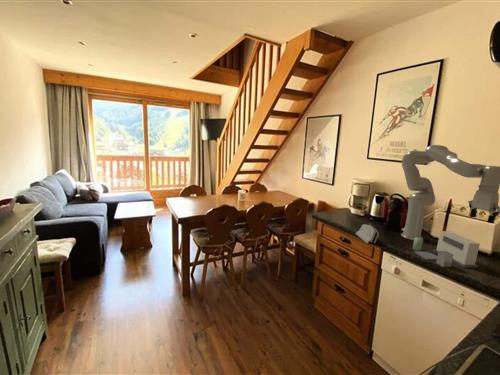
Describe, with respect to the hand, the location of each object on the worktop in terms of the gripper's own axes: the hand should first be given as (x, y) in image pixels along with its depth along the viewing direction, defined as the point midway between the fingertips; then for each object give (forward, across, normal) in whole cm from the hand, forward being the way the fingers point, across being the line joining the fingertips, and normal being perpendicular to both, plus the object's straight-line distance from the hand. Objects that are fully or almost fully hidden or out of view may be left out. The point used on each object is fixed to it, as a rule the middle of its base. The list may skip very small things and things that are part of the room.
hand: (481, 219), depth 134 cm
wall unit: (+24, -2, -9) cm, 26 cm away
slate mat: (+24, -5, -22) cm, 33 cm away
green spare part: (+24, -14, -22) cm, 35 cm away
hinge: (+25, -30, -45) cm, 59 cm away
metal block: (+24, +5, -22) cm, 33 cm away
